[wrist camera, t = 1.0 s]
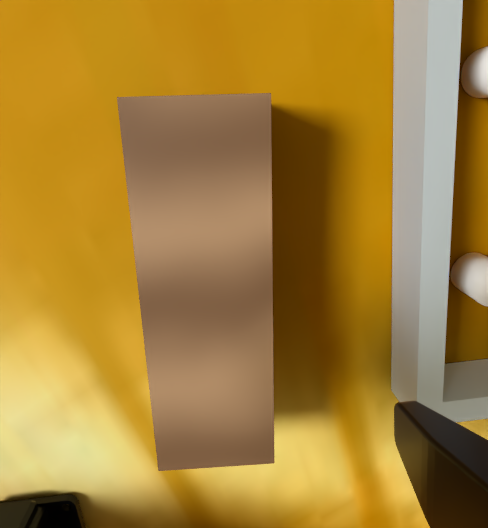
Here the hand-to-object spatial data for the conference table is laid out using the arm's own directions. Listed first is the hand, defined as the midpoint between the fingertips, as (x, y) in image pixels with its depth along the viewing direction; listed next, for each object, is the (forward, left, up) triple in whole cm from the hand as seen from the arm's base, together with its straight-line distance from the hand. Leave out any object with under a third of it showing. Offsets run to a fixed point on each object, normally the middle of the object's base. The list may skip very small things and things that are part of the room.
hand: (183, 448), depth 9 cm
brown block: (0, 0, -12) cm, 12 cm away
